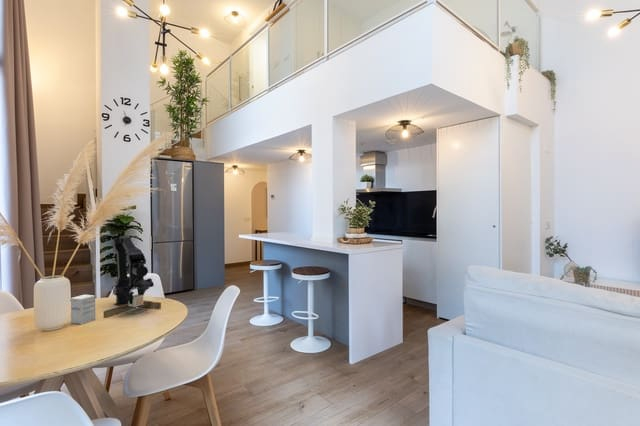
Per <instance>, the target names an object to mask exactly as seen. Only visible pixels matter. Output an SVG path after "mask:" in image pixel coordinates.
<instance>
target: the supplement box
mask: <svg viewBox="0 0 640 426" xmlns="http://www.w3.org/2000/svg"><path fill="white" fill-rule="evenodd" d="M95 320H96V295H95V294H94V295H93V294H80V295H77V296H74V297H71V298H70V324H78V325H84V324H87V323H89V322H92V321H95Z"/></svg>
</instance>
